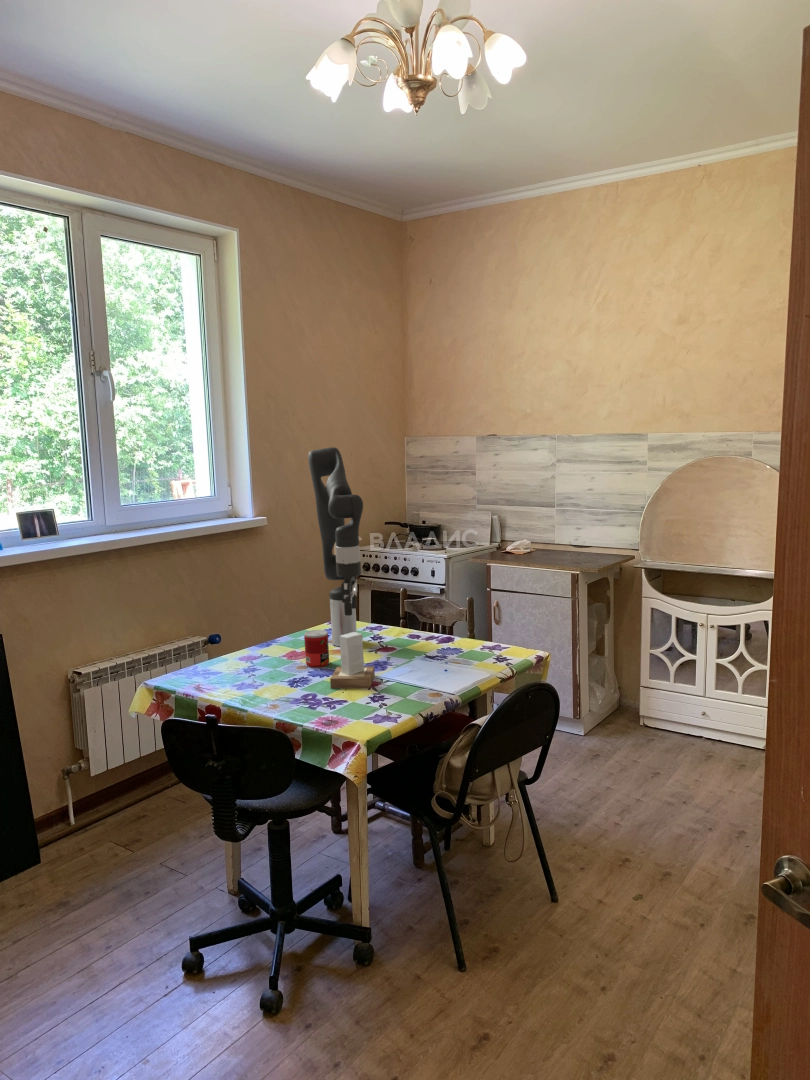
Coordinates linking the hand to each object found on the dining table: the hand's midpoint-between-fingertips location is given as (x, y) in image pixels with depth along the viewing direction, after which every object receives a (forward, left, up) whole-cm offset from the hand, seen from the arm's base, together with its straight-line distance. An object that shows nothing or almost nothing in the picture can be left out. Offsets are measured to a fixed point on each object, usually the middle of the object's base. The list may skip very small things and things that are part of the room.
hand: (350, 611), depth 229 cm
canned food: (-17, -15, -23) cm, 32 cm away
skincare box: (+1, 0, -19) cm, 19 cm away
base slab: (+1, 0, -22) cm, 22 cm away
